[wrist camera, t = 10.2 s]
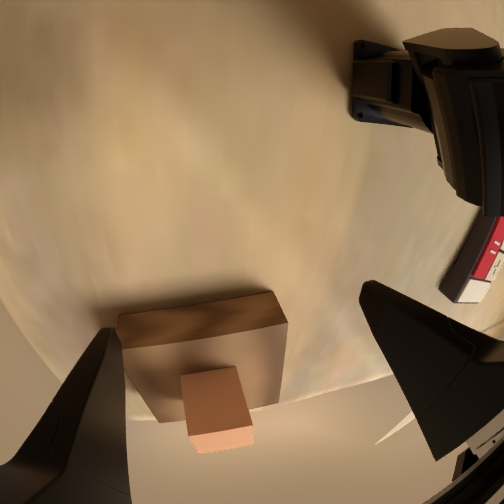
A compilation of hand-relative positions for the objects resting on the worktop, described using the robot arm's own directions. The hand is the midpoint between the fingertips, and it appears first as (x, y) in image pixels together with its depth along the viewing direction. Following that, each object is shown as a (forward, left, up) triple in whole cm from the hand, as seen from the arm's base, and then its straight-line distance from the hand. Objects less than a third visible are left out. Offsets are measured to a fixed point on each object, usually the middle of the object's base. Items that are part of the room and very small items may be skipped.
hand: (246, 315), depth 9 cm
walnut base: (+2, +17, -12) cm, 21 cm away
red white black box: (-38, +11, -13) cm, 41 cm away
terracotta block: (+2, +17, -8) cm, 19 cm away
